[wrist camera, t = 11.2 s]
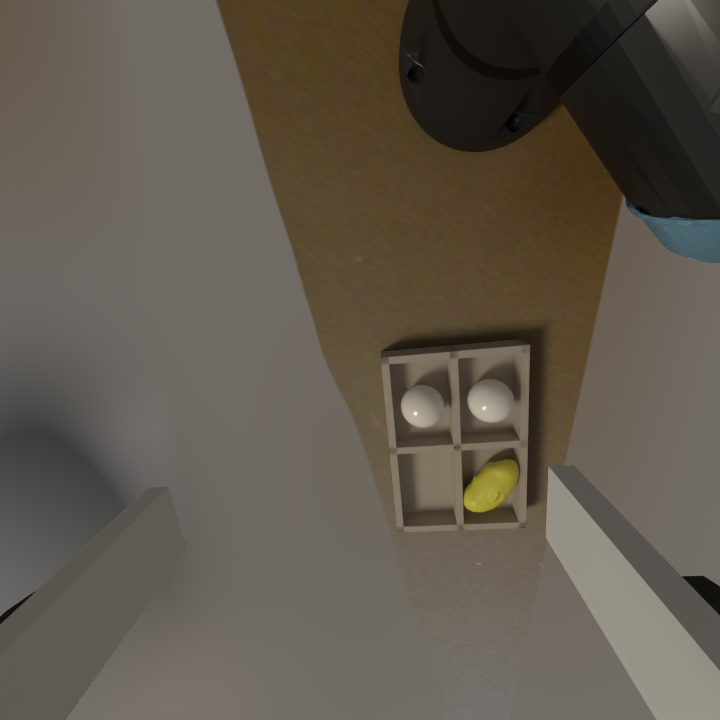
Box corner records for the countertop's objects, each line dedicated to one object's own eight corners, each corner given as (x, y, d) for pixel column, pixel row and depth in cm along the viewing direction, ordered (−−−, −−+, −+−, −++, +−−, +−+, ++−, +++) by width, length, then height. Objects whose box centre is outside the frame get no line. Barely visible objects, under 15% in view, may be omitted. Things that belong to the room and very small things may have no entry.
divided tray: (381, 351, 37) (380, 357, 35) (519, 339, 36) (530, 344, 33) (396, 515, 43) (397, 532, 40) (516, 511, 41) (525, 527, 39)
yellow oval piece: (449, 486, 41) (456, 508, 37) (499, 443, 39) (511, 462, 35) (473, 506, 41) (483, 530, 37) (524, 465, 39) (538, 486, 35)
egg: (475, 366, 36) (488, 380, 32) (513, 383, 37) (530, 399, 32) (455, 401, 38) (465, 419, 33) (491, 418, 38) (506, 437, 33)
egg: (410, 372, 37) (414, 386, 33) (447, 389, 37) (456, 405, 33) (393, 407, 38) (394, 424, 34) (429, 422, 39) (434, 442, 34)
